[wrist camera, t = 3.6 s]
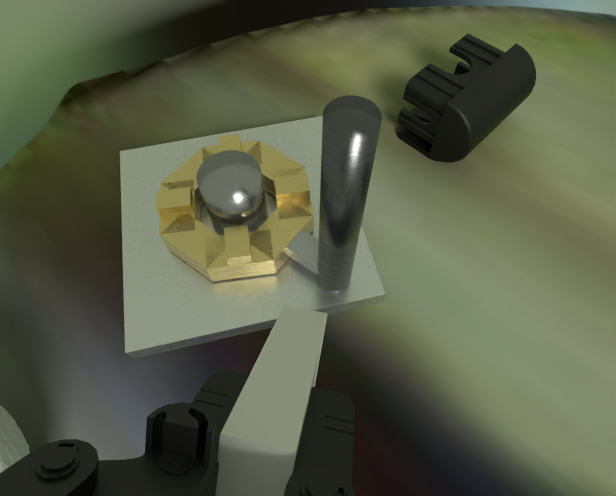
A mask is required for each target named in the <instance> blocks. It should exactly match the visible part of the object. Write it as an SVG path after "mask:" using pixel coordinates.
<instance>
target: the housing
mask: <svg viewBox="0 0 616 496" xmlns="http://www.w3.org/2000/svg"><path fill="white" fill-rule="evenodd" d="M322 123H323V116H319V117H314V118H308V119H302V120H296V121H291V122H285V123H279V124H273V125H268V126H262V127H256V128H250V129H245V130H239V131H233V132H227V133H222V134H216V135H210V136H204V137H199V138H193V139H187V140H181V141H176V142H170V143H164V144H158V145H153V146H147V147H141V148H135V149H130V150H124V151H120V172H121V211H122V249H123V287H124V326H125V353H126V354H127V355H129V356H130V357H131V358H133V359H136V358H140V357H144V356H149V355H153V354H158V353H162V352H166V351H171V350H175V349H180V348H184V347H188V346H193V345H197V344H202V343H206V342H210V341H215V340H219V339H224V338H228V337H232V336H237V335H241V334H246V333H250V332H254V331H259V330H263V329H268V328H272V327H274V325H275V323H276V321H277V319H278V317H279V315H280V313H281V311H282V309H283V307H284V305H287V306H292V307H298V308H303V309H308V310H313V311H318V312H323V313H328V314H327V315H329V314H334V313H338V312H342V311H347V310H351V309H356V308H360V307H364V306H369V305H373V304H378V303H382V302H383V300H384V297H385V295H386V294H385V291H384V288H383V285H382V283H381V280H380V277H379V274H378V271H377V268H376V266H375V263H374V260H373V257H372V254H371V251H370V249H369V246H368V243H367V240H366V237H365V235H364V232H363V229H362V226H361V228H360V233H359V239H358V244H357V249H356V254H355V259H354V264H353V269H352V275H351V280H350V282H349V284H348V285H347V287H345V288H344V289H342V290H340V291H329V290H327V289H325V288H323V287H322V286H321V285H320V283H319V281H318V278H317V274H315V273H314V272H312V271H311V270H309V269H308V268H306V267H304V266H303V265H301V264H300V263H298V262H297V261H295V260H294V259H292V258H291V257H290V258H289V259H288V260H287V261H286V262H285V263H284V264H283V266H282V267H281V268H280V269H279V270H278V271H277V273H274V274H266V275H259V276H251V277H244V278H236V279H229V280H221V281H214V282H212V281H211V280H209V279H208V278H207V277H205V276H204V275H203V274H201V273H200V272H199V271H197V270H196V269H194V268H193V267H192V266H190V265H189V264H188V263H186V262H185V261H184V260H182V259H181V258H180V257H178V256H177V255H175V254H174V253H173V252H171V251H170V250H169V249H167V247H166V245H165V244H164V242H163V240H162V239H161V237H160V235H159V218H160V216H159V214H158V212H157V210H156V191H160V185H161V183H162V182H163V181H164V180H165V179H166V178H167V177H169V176H170V175H171V174H172V173H173V172H174V171H175V170H177V169H178V168H179V167H180V166H181V165H182V164H183V163H185V162H186V161H187V160H188V159H189V158H190V157H191V156H193V155H194V154H195V153H196V152H197V151H198V150H199V149H201V148H202V147H206V146H215V145H219V136H226V135H235V134H239V135H240V140H241V143H242V142H251V141H261V142H263V143H265V144H266V145H268V146H270V147H271V148H273V149H275V150H277V151H278V152H280V153H282V154H284V155H285V156H287V157H289V158H290V159H292V160H294V161H296V162H297V163H299V164H301V165H303V166H304V167H305V171H306V173H307V178H308V183H309V188H310V198H311V204H312V209H313V215H314V226H313V231H312V232H311V233H310V234H311V235H312V236H314V237H315V238H317V239H319V210H320V181H321V152H322ZM196 178H197V184H198V187H199V190H200V192H201V195H202V198H203V201H204V203H203V204H202V205H201V206H200V221H201V223H203V224H204V225H206V226H207V227H208V228H210V229H211V230H213V231H214V232H216V233H217V234H219V235H220V236H221V235H224V228H227V227H235V226H243V225H248V229H249V232H253V231H256V230H257V229H258V228H259V227H260V226H261V225H262V224H263V223H264V222H265V221H266V220H267V218H268V217H269V216H270V215H271V214H272V213H273V212H274V211H275V210H276V209H277V202H276V197H275V196H274V195H272V194H270V193H269V192H267V191H266V190H264V186H263V180H262V173H261V168H260V165H259V163H258V162H257V160H256V159H255V158H254V157H252V156H251V155H249V154H247V153H245V152H242V151H237V150H227V151H222V152H218V153H216V154H214V155H212V156H210V157H209V158H207V159H206V160H205V161H204V162H203V163H202V164H201V166H200V167H199V169H198V172H197V177H196Z"/></svg>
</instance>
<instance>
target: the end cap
mask: <svg viewBox="0 0 616 496" xmlns="http://www.w3.org/2000/svg"><path fill="white" fill-rule="evenodd" d="M449 52H450V53H452V54H454V55H456V56H458V57H460V58H462V59H463V60H465V61H466V62H467V63H468V64H469V65H470V67H469V66H467V65H466V64H464V63H462V62H459V63H458V64H457V67H456V70H455V72H454V74H450V73H447V72H445V71H443V70H441V69H440V68H438V67H436V66H434V65H432V64H431V63H430V64H428V65H427V66H426V67H425V68H423V69H422V70H421V71H420V72H418V73H417V74H416V75H414V76H413V77H412V78H411V79H410V80H409V82H408V83H407V85H406V89H405V93H404V97H403V99H404V100H406V101H408V102H409V103H411V104H412V105H414V106H416V107H415V108H414V109H413V110H411V111H410V112H408V111H407V110H405V109H404V108H403V109H402V110H400V114H399V118H398V123H399V124H401V125H402V126H401V127H399V129H398V132H397V137H398V138H399V139H401V140H402V141H404V142H405V143H407V144H408V145H410V146H411V147H413V148H414V149H416V150H417V151H419V152H420V153H422V154H423V155H425V156H426V157H428V158H430V159H433V160H435V161H441V162H456V161H459V160H461V159H463V158H464V157H466V156H467V155H468V154H469V153H470V152H471V151H472V150H473V149H474V148H475V147H476V146H477V145H478V144H479V143H480V142H481V141H482V140H483V139H484V138H485V137H487V136H488V135H489V134H490V133H491V132H492V131H493V130H494V129H495V128H496V127H497V126H498V125H499V124H500V123H501V122H502V121H503V120H504V119H505V118H506V117H507V116H508V115H509V114H510V113H511V112H512V111H514V110H515V109H516V108H517V107H518V106H519V105H520V104H521V103H522V102H523V101H524V100H525V99H526V98H527V97H528V96H529V94H530V93H531V92H532V90H533V87H534V85H535V80H536V70H535V65H534V62H533V60H532V58H531V57H530V55H529V54H528V52H527V51H526V50H525V49H524V48H523V47H521V46H519V45H518V44H515V45H514V46H512V47H511V48H510V49H509V50H508V51H507V52H503V51H501V50H499V49H497V48H495V47H493V46H492V45H490V44H488V43H486V42H484V41H482V40H480V39H478V38H476V37H474V36H472V35H470V34H466V35H465V36H464V37H463V38H461V39H460V40H459V41H458V42H456V43H455V44H454V45H453V46H451V47H450V50H449Z"/></svg>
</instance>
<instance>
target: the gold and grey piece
mask: <svg viewBox="0 0 616 496" xmlns="http://www.w3.org/2000/svg"><path fill="white" fill-rule="evenodd" d="M381 120H382V115H381V112H380V110H379V108H378V107H377V106H376V105H375V104H374V103H373V102H372V101H370V100H368V99H366V98H363V97H359V96H342V97H339V98H336V99H334V100H332V101H331V102H330V103H328V104H327V106H326V107H325V109H324V111H323V123H322V152H321V181H320V210H319V239H317V238H315V237H314V236H312V235H311V234H310V233H311V232H312V231H313V226H314V215H313V209H312V204H311V198H310V188H309V183H308V178H307V173H306V171H305V167H304V166H303V165H301V164H299V163H297V162H296V161H294V160H292V159H290V158H289V157H287V156H285V155H284V154H282V153H280V152H278V151H277V150H275V149H273V148H271V147H270V146H268V145H266V144H265V143H263V142H261V141H251V142H242V143H241V140H240V135H239V134H235V135H226V136H219V145H215V146H206V147H202V148H201V149H199V150H198V151H197V152H196V153H195V154H194V155H193V156H191V157H190V158H189V159H188V160H187V161H186V162H185V163H183V164H182V165H181V166H180V167H179V168H178V169H177V170H175V171H174V172H173V173H172V174H171V175H170V176H169V177H167V178H166V179H165V180H164V181H163V182H162V183H161V185H160V191H156V210H157V212H158V214H159V216H160V218H159V235H160V237H161V239H162V240H163V242H164V244H165V245H166V247H167V249H169V250H170V251H171V252H173V253H174V254H175V255H177V256H178V257H180V258H181V259H182V260H184V261H185V262H186V263H188V264H189V265H190V266H192V267H193V268H194V269H196V270H197V271H199V272H200V273H201V274H203V275H204V276H205V277H207V278H208V279H209V280H211V281H212V282H214V281H221V280H229V279H236V278H244V277H251V276H259V275H266V274H274V273H277V271H278V270H279V269H280V268H281V267H282V266H283V264H284V263H285V262H286V261H287V260H288V259H289V258H290V257H291V258H292V259H294V260H295V261H297V262H298V263H300V264H301V265H303V266H304V267H306V268H308V269H309V270H311V271H312V272H314V273H315V274H317V278H318V281H319V283H320V285H321V286H322V287H323V288H325V289H327V290H329V291H340V290H342V289H344V288H345V287H347V285H348V284H349V282H350V280H351V275H352V269H353V264H354V259H355V254H356V249H357V244H358V239H359V233H360V228H361V223H362V218H363V213H364V208H365V203H366V197H367V192H368V187H369V182H370V177H371V172H372V167H373V161H374V156H375V151H376V146H377V141H378V136H379V131H380V125H381ZM227 150H237V151H242V152H245V153H247V154H249V155H251V156H252V157H254V158H255V159H256V160H257V162H258V163H259V165H260V168H261V173H262V180H263V186H264V190H266V191H267V192H269V193H270V194H272V195H274V196H275V197H276V202H277V209H276V210H275V211H274V212H273V213H272V214H271V215H270V216H269V217H268V218H267V220H266V221H265V222H264V223H263V224H262V225H261V226H260V227H259V228H258V229H257V230H256V231H253V232H249V229H248V225H243V226H235V227H227V228H224V235H221V236H220V235H219V234H217V233H216V232H214V231H213V230H211V229H210V228H208V227H207V226H206V225H204V224H203V223H201V221H200V206H201V205H202V204H203V203H204V201H203V198H202V195H201V192H200V190H199V187H198V184H197V178H196V177H197V172H198V169H199V167H200V166H201V164H202V163H203V162H204V161H205V160H206V159H207V158H209V157H210V156H212V155H214V154H216V153H218V152H222V151H227Z"/></svg>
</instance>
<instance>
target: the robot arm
mask: <svg viewBox="0 0 616 496" xmlns="http://www.w3.org/2000/svg"><path fill="white" fill-rule="evenodd" d="M327 314H328V313H323V312H318V311H313V310H308V309H303V308H298V307H292V306H287V305H284V307H283V309H282V311H281V313H280V315H279V317H278V319H277V321H276V323H275V325H274V327H273V329H272V331H271V333H270V335H269V337H268V339H267V341H266V343H265V345H264V347H263V349H262V351H261V353H260V355H259V357H258V359H257V361H256V363H255V365H254V367H253V369H252V371H251V373H250V375H249V374H244V373H240V372H235V371H231V370H226V369H221V370H220V371H218V372H216V373H215V374H213V375H212V376H210V377H208V379H207V381H206V382H205V384H204V385H203V387H202V388H201V391H200V392H199V393H198V394H197V396H196V397H195V399H194V402H192V403H191V404H190V403H175V404H168V405H166V406H163V407H161V408H158V409H156V410H155V411H154V412H153V413H151V414H150V415H149V416H148V417H147V428H146V445H145V453H144V455H143V456H141V457H138V458H134V459H126V460H101V461H98V455H97V451H96V449H95V448H94V447H93V446H92V445H91V444H89V443H88V442H84V441H81V440H77V439H71V440H59V441H55V442H52V443H48V444H46V445H44V446H42V447H40V448H38V449H36V450H34V451H32V452H31V453H29V454H28V455H26V456H25V457H23V458H22V459H20V460H19V461H17V462H16V463H14V464H13V465H11V466H10V467H8V468H7V469H5V470H4V471H2V472H1V473H0V496H355V494H354V492H353V489H352V482H351V476H352V456H353V434H354V415H355V407H354V405H353V403H352V401H351V399H350V398H349V396H348V394H344V393H339V392H334V391H330V390H325V389H320V388H316V387H314V386H315V381H316V375H317V370H318V364H319V358H320V353H321V347H322V342H323V336H324V331H325V325H326V319H327Z"/></svg>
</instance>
